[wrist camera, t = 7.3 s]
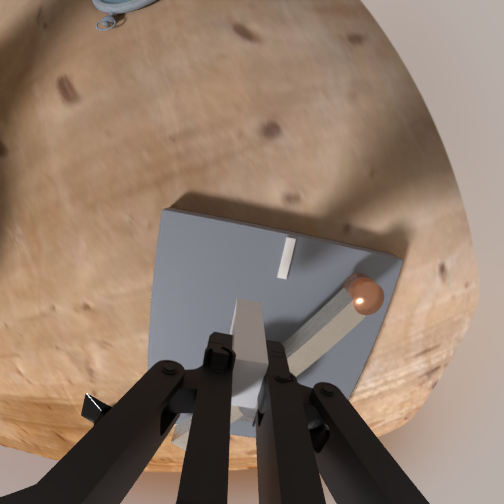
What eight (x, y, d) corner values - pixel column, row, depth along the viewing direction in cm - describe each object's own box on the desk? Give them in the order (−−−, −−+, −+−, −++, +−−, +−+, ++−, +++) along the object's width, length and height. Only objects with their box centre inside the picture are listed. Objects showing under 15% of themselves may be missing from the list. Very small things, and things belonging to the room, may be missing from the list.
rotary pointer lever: (157, 406, 26) (144, 438, 21) (337, 243, 22) (359, 259, 17) (209, 440, 27) (205, 473, 22) (387, 299, 23) (413, 324, 18)
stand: (152, 405, 29) (147, 418, 26) (169, 207, 24) (161, 209, 21) (322, 430, 30) (325, 443, 27) (393, 254, 25) (404, 260, 22)
